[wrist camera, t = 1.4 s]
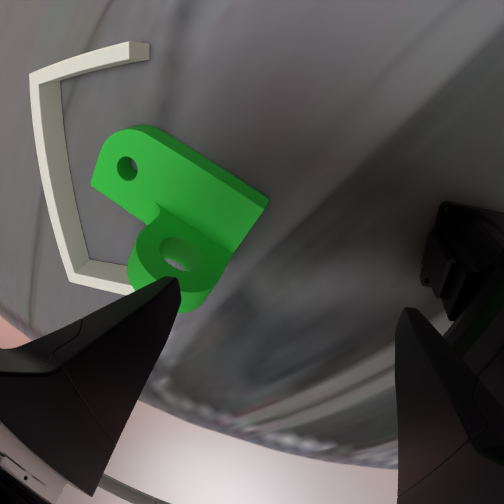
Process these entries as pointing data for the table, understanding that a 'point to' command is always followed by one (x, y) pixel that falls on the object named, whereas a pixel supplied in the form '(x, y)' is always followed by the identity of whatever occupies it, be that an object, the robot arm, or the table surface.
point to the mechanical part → (176, 209)
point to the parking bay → (57, 165)
